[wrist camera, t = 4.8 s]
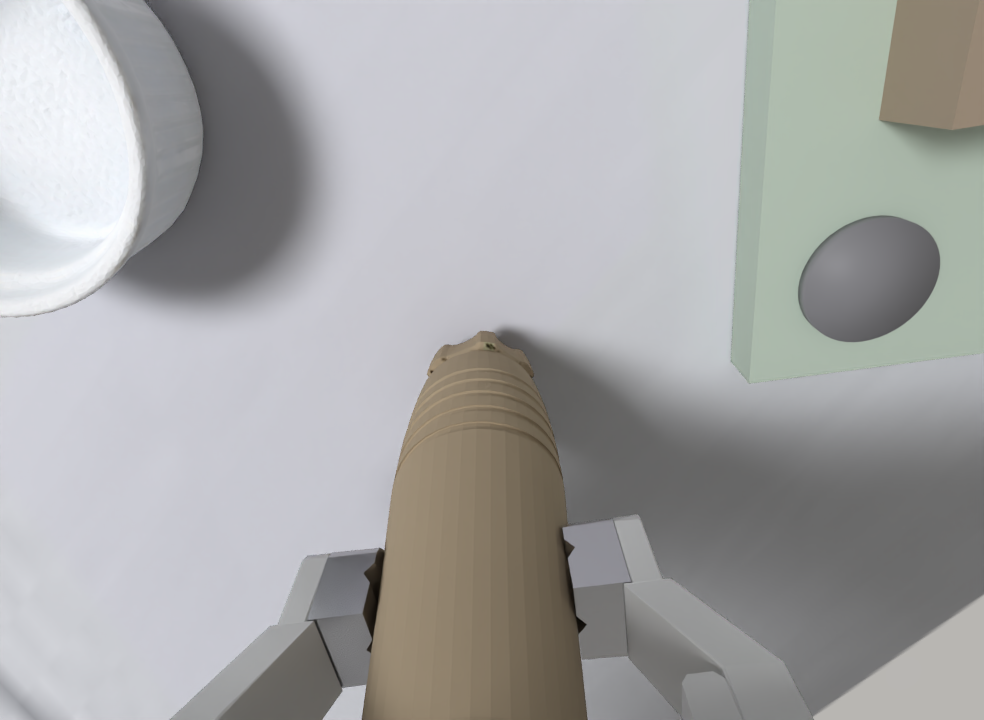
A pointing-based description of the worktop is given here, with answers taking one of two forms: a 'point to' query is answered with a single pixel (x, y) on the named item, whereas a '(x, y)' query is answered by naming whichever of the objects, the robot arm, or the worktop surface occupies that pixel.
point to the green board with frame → (860, 186)
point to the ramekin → (87, 145)
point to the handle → (476, 554)
